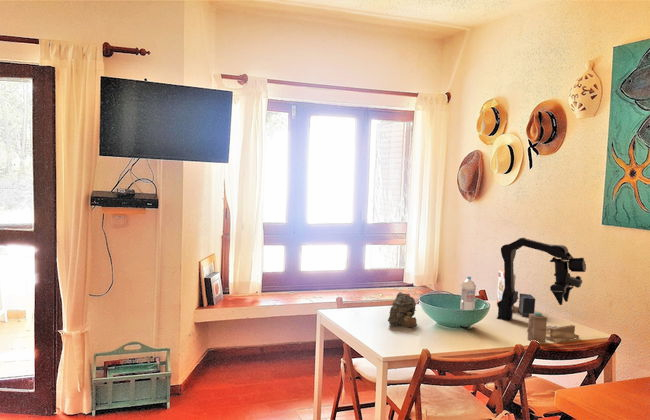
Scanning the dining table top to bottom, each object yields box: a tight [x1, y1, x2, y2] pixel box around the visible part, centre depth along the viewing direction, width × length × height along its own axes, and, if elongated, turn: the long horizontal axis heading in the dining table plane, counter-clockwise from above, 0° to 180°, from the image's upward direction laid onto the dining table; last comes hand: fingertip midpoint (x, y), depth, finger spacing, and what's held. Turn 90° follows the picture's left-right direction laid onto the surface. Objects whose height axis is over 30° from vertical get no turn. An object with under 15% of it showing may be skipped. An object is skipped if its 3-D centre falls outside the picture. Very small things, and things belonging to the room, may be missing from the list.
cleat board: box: [526, 324, 580, 343], centre depth 217 cm, size 16×16×6 cm
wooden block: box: [527, 312, 548, 345], centre depth 208 cm, size 6×6×13 cm
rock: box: [387, 291, 418, 328], centre depth 226 cm, size 18×14×15 cm
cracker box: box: [496, 269, 516, 311], centre depth 265 cm, size 14×6×21 cm, turn 174°
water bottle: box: [459, 276, 477, 329], centre depth 226 cm, size 7×7×25 cm
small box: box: [517, 293, 536, 318], centre depth 252 cm, size 11×6×10 cm, turn 168°
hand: (563, 303), depth 223 cm, fingers open, 9 cm apart
